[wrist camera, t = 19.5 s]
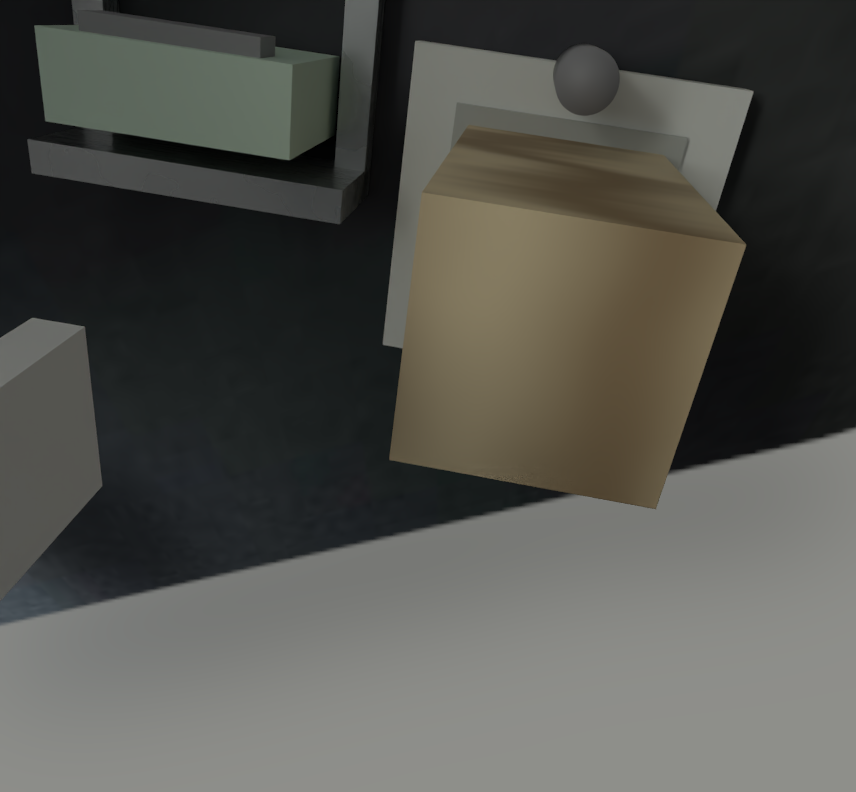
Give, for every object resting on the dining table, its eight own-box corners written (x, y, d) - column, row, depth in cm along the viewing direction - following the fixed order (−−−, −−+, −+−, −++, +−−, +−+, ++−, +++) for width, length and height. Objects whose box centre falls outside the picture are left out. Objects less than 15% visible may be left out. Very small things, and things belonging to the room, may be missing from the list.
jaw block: (441, 306, 25) (388, 459, 16) (468, 124, 22) (422, 192, 14) (614, 335, 25) (655, 508, 16) (663, 155, 22) (746, 244, 13)
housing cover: (133, 103, 25) (45, 121, 20) (128, 7, 23) (31, 3, 19) (335, 135, 24) (289, 160, 20) (341, 39, 23) (293, 43, 18)
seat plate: (386, 348, 28) (360, 403, 24) (422, 18, 22) (396, 17, 18) (650, 395, 27) (669, 459, 23) (751, 67, 22) (799, 77, 18)
